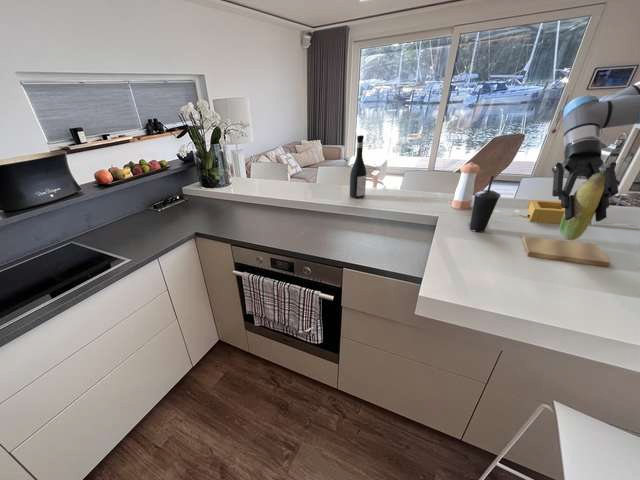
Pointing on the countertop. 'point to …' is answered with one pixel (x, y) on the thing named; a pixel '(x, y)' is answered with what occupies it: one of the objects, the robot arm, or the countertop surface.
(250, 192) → the countertop surface
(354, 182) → the wine bottle
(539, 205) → the stand
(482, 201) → the drinking cup
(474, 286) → the countertop surface
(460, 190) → the pepper shaker
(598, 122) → the robot arm
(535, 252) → the board
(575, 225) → the vegetable
